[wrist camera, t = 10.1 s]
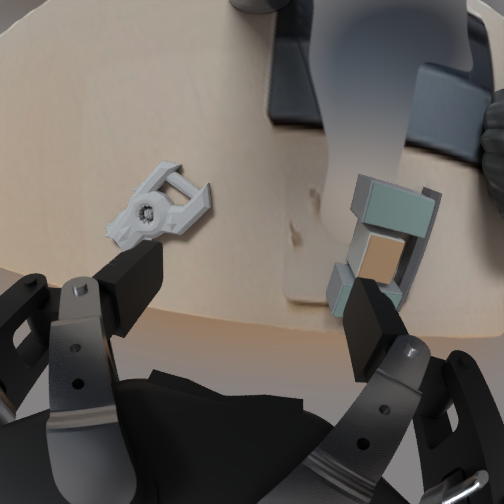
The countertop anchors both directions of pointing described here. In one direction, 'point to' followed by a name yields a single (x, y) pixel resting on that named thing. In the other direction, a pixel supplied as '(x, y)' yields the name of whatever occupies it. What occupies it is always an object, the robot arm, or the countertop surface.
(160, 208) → the grey flat plastic piece
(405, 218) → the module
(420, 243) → the rail
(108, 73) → the countertop surface
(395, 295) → the block
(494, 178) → the bundt pan
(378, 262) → the block
